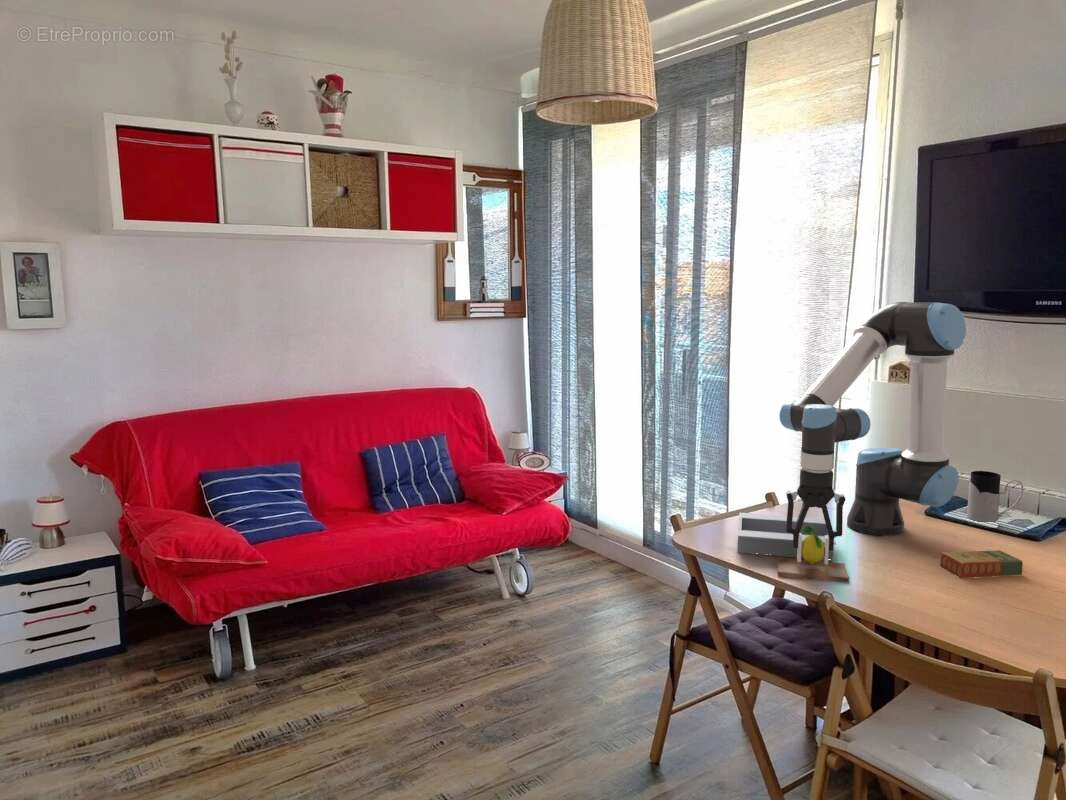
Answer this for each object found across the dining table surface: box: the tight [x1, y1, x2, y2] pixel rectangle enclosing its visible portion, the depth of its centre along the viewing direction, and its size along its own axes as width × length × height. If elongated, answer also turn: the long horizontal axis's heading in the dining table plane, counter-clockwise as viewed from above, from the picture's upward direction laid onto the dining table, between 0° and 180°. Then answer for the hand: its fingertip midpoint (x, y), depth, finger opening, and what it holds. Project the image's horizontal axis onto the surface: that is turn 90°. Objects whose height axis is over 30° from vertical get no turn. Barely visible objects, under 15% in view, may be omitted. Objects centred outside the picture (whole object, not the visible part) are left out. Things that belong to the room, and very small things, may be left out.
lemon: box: [801, 525, 825, 565], centre depth 194 cm, size 7×6×10 cm
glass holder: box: [966, 470, 1024, 522], centre depth 230 cm, size 9×14×15 cm, turn 74°
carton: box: [939, 549, 1024, 579], centre depth 195 cm, size 8×16×4 cm, turn 96°
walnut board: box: [776, 557, 850, 583], centre depth 195 cm, size 16×10×1 cm, turn 75°
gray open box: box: [737, 512, 837, 561], centre depth 212 cm, size 24×21×6 cm
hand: (812, 561), depth 195 cm, fingers closed on lemon, 5 cm apart
